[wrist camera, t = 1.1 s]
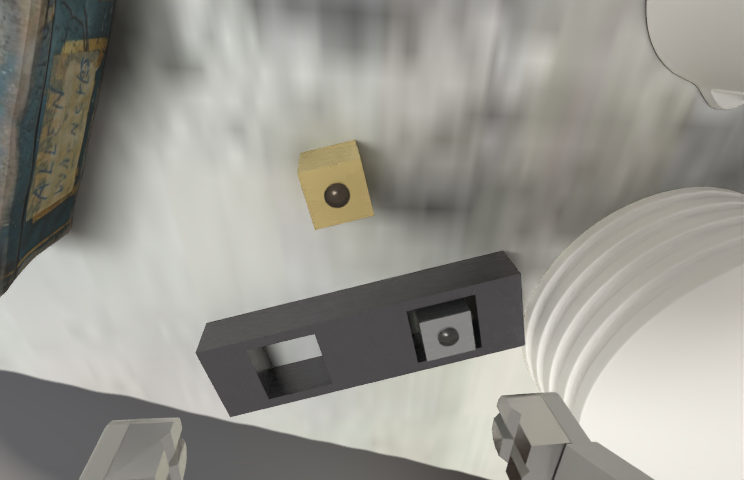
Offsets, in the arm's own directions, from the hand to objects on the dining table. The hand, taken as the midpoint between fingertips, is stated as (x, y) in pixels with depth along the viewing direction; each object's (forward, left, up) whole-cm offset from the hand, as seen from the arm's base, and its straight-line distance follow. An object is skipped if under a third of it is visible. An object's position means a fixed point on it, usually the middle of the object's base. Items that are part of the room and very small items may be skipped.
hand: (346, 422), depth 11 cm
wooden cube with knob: (0, +2, -26) cm, 26 cm away
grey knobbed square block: (-6, +17, -26) cm, 32 cm away
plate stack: (-28, +25, -26) cm, 46 cm away
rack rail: (+1, +17, -26) cm, 31 cm away
